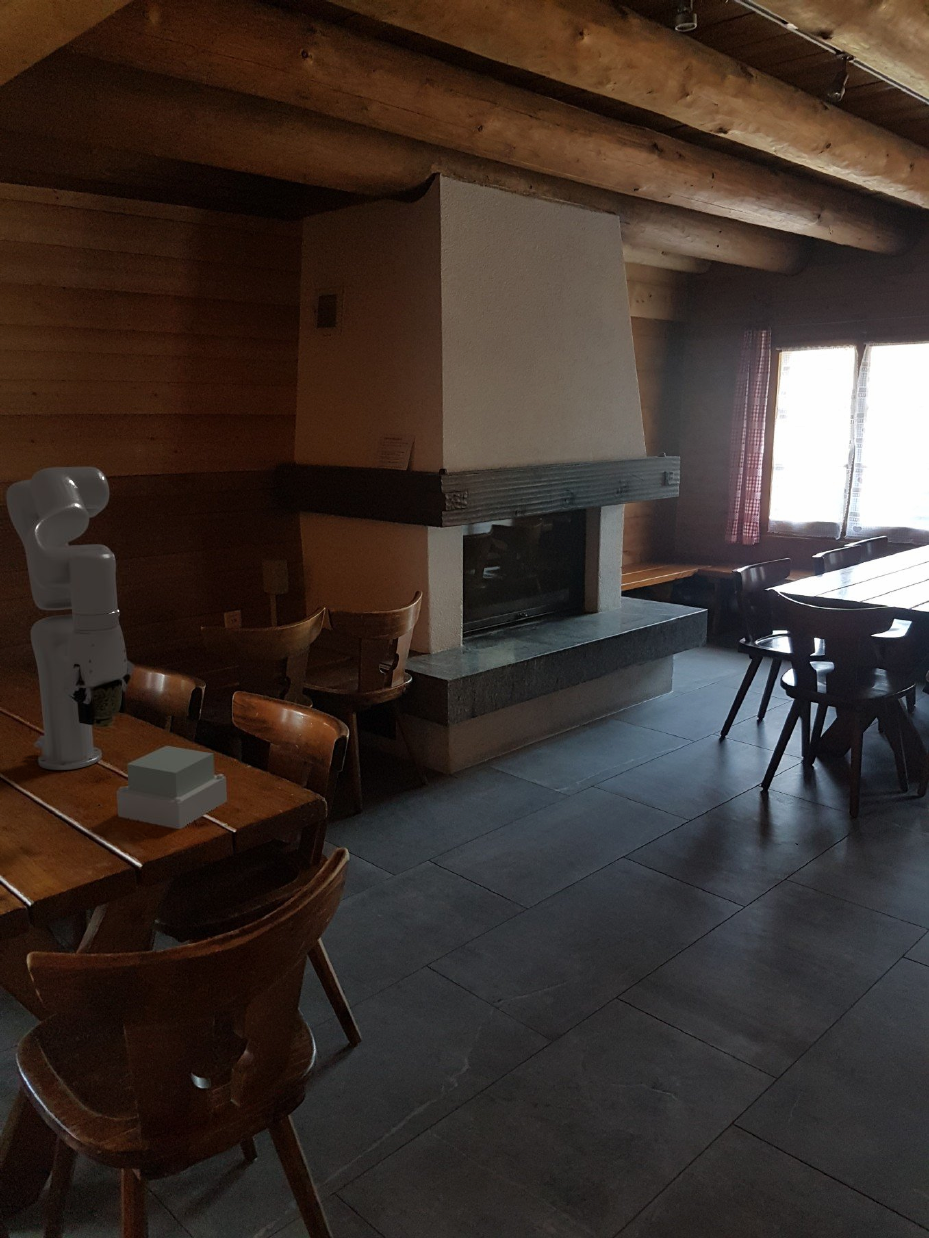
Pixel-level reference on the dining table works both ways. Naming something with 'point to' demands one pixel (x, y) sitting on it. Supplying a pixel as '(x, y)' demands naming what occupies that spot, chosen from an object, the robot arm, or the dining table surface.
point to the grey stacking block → (171, 787)
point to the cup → (106, 702)
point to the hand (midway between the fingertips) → (102, 716)
